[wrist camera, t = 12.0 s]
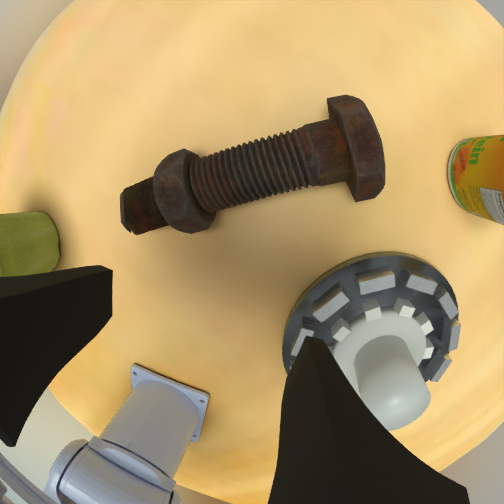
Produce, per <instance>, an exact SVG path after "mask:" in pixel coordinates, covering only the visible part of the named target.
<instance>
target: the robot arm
mask: <svg viewBox="0 0 504 504" xmlns="http://www.w3.org/2000/svg"><path fill="white" fill-rule="evenodd" d="M112 277H113V270H111V269H108V268H106V267H104V266H101V265H95V266H85V267H78V268H72V269H65V270H59V271H53V272H47V273H39V274H32V275H23V276H8V277H0V439H1V440H2V441H3V442H4V443H5V445H6V446H9V447H14V446H16V443H17V440H18V438H19V435H20V433H21V431H22V428H23V426H24V424H25V422H26V420H27V418H28V416H29V415H30V413H31V411H32V409H33V408H34V406H35V404H36V402H37V401H38V400H39V398H40V397H41V395H42V394H43V392H44V390H45V389H46V388H47V386H48V385H49V384H50V382H51V381H52V380H53V379H54V377H55V376H56V375H57V373H58V372H59V371H60V370H61V369H62V368H63V367H64V366H65V365H66V364H67V363H68V362H69V361H70V360H71V359H72V358H73V357H74V356H75V355H76V354H77V353H79V352H80V351H81V350H82V349H83V348H84V347H85V346H86V345H87V344H88V343H89V342H90V341H91V340H92V339H93V338H94V337H95V336H96V335H97V334H98V333H99V332H100V331H101V330H102V328H103V327H104V326H105V325H106V323H107V322H108V321H109V319H110V318H111V317H112ZM131 381H132V392H131V394H130V395H129V396H128V398H127V399H126V400H125V402H124V403H123V405H122V406H121V407H120V409H119V410H118V411H117V413H116V414H115V416H114V417H113V418H112V420H111V421H110V422H109V424H108V425H107V427H106V428H105V429H104V431H103V432H102V434H101V435H100V436H99V438H98V437H96V436H94V437H93V438H92V439H91V441H90V442H88V441H87V440H85V439H80V440H74V441H72V442H70V443H69V444H68V445H67V446H66V447H65V448H64V449H63V450H62V451H61V453H60V454H59V455H58V457H57V458H56V460H55V462H54V463H53V465H52V467H51V470H50V473H49V479H48V482H47V484H46V486H45V488H44V490H43V492H42V491H41V490H40V489H38V488H37V487H36V486H35V485H34V484H32V483H31V482H30V481H29V480H28V479H27V478H25V477H24V476H23V475H22V474H21V473H20V472H19V471H18V470H17V469H16V468H15V467H14V466H13V465H12V464H10V462H9V461H8V460H7V459H6V458H5V457H4V456H3V455H2V454H1V453H0V477H1V478H2V479H3V480H4V481H5V482H6V483H7V484H8V485H9V486H10V487H11V488H12V489H13V490H14V491H15V492H16V493H17V494H18V495H19V496H20V497H21V498H22V499H24V500H25V501H26V502H27V503H28V504H183V500H182V498H181V496H180V493H179V492H177V491H175V490H173V488H174V486H175V484H176V481H175V480H173V478H174V476H175V474H176V471H177V469H178V467H179V465H180V462H181V460H182V458H183V455H184V453H185V451H186V448H187V446H188V444H189V442H190V441H193V442H198V440H199V436H200V432H201V428H202V424H203V420H204V416H205V412H206V408H207V404H208V400H209V395H208V394H207V393H205V392H202V391H199V390H196V389H193V388H191V387H188V386H185V385H183V384H180V383H178V382H175V381H173V380H170V379H168V378H165V377H163V376H161V375H158V374H156V373H154V372H151V371H149V370H147V369H145V368H142V367H140V366H138V365H136V364H133V365H132V366H131ZM6 492H7V488H6V486H5V485H4V484H3V483H2V482H1V480H0V504H14V503H13V502H12V501H11V500H10V499H9V498H7V497H6V496H5V495H4V494H5V493H6ZM268 504H470V502H469V497H468V493H467V489H466V487H464V486H462V485H460V484H458V483H456V482H455V481H453V480H451V479H449V478H447V477H445V476H443V475H442V474H440V473H438V472H437V471H435V470H434V469H432V468H431V467H430V466H428V465H427V464H425V463H424V462H423V461H421V460H420V459H419V458H417V457H416V456H415V455H414V454H412V453H411V452H410V451H409V450H408V449H406V448H405V447H404V446H403V445H402V444H401V443H400V442H399V441H398V440H397V439H396V438H394V437H393V436H392V435H391V434H390V433H389V431H388V430H387V429H386V428H385V427H384V426H383V425H382V424H381V423H380V422H379V420H378V419H377V418H376V417H375V416H374V415H373V414H372V412H371V411H370V410H369V409H368V407H367V406H366V405H365V403H364V402H363V401H362V399H361V398H360V397H359V395H358V394H357V393H356V391H355V390H354V388H353V387H352V385H351V384H350V382H349V381H348V379H347V378H346V376H345V374H344V373H343V371H342V370H341V368H340V366H339V365H338V363H337V361H336V360H335V358H334V356H333V355H332V353H331V351H330V350H329V348H328V346H327V345H326V343H325V342H324V340H323V339H319V338H315V337H311V336H307V335H306V336H305V339H304V341H303V343H302V346H301V348H300V350H299V352H298V354H297V357H296V359H295V361H294V363H293V365H292V367H291V370H290V372H289V374H288V376H287V378H286V383H285V388H284V393H283V399H282V406H281V421H280V436H279V449H278V459H277V466H276V471H275V476H274V480H273V485H272V489H271V493H270V497H269V501H268Z"/></svg>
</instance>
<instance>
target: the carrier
mask: <svg viewBox="0 0 504 504" xmlns="http://www.w3.org/2000/svg"><path fill="white" fill-rule="evenodd" d="M398 297H399V298H402V299H406V300H409V301H410V302H411V303H412V305H413V306H414V307H415V311H414V313H413V316H414V317H417V316H418V315H419V314H421V313H422V312H424V314H425V315H426V316H427V318H428V319H429V320H430V322H431V325H432V327H433V329H434V330H432V331H431V332H430V333H428V334H427V335H425V336H426V338H429V340H430V341H431V343H432V344H433V346H434V349H433V352H432V355H431V358H427V359H422V361H421V363H420V364H419V366H418V369H419V371H420V373H421V375H422V377H423V379H424V381H425V382H427V381H428V380H429V379H430V381H434V382H438V380H439V379H440V378H441V376H442V375H443V373H444V372H445V371H446V369H447V368H448V366H449V365H450V363H451V362H452V359H451V358H450V356H449V355H448V354H449V352H450V351H452V350H454V349H457V347H458V340H459V334H460V326H461V324H460V323H459V322H458V313H459V312H458V305H457V301H456V297H455V294H454V292H453V290H452V287H451V286H450V284H449V283H448V281H447V280H446V278H445V277H444V276H443V275H442V274H441V273H440V272H439V271H438V270H436V269H435V268H434V267H433V266H431V265H430V264H428V263H427V262H425V261H424V260H422V259H420V258H417V257H415V256H412V255H409V254H405V253H399V252H377V253H371V254H365V255H362V256H359V257H355V258H352V259H350V260H348V261H345V262H343V263H341V264H339V265H337V266H335V267H334V268H332V269H330V270H329V271H327V272H326V273H325V274H323V275H322V276H321V277H319V278H318V279H317V280H316V281H315V282H314V283H312V284H311V285H310V286H309V287H308V288H307V289H306V291H305V292H304V293H303V294H302V295H301V297H300V298H299V299H298V301H297V303H296V304H295V306H294V307H293V309H292V311H291V313H290V315H289V318H288V320H287V324H286V327H285V331H284V338H283V346H282V355H283V362H284V367H285V370H286V373H287V375H288V374H289V372H290V370H291V367H292V365H293V363H294V361H295V359H296V357H297V354H298V352H299V350H300V348H301V346H302V343H303V341H304V339H305V336H306V335H307V336H311V337H315V338H319V339H323V340H324V342H325V343H326V345H327V346H333V343H334V341H335V338H333V337H332V330H331V327H332V326H333V325H334V324H335V322H336V321H337V320H338V319H339V318H340V317H342V318H343V319H345V320H346V321H348V322H349V321H351V320H352V319H353V318H355V317H356V316H358V315H360V314H361V313H363V309H362V304H361V303H363V302H366V301H369V300H372V299H376V301H377V302H378V304H379V306H380V307H393V306H394V304H395V302H396V300H397V298H398Z"/></svg>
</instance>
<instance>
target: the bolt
mask: <svg viewBox="0 0 504 504" xmlns="http://www.w3.org/2000/svg"><path fill="white" fill-rule="evenodd" d="M327 104H328V111H329V119H328V120H324V121H319V122H315V123H310V124H306V125H304V126H303V127H301V128H298V129H297V130H295V129H293V130H292V132H291V133H290V132H289V131H286V134H285V135H284V134H283V133H282V132H281V133H280V135H279V137H278V136H277V135H276V134H274V136H273V139H272V138H271V137H270V136H268V137H267V140H265V139H264V138H263V137H262V138H261V140H260V142H259V141H258V140H257V139H255V141H254V143H253V142H251V141H249V142H248V145H247V144H246V143H243V145H242V146H241V145H238V146H237V147H236V148H235V147H234V146H233V147H231V150H230V149H226V150H225V151H223V150H221V151H220V152H219V153H217V152H216V153H214V155H212V154H210V155H208V157H207V156H204V157H203V158H200V157H199V156H198V155H196V154H195V153H193V152H191V151H189V150H186V149H182V150H179V151H177V152H174V153H172V154H169V155H168V156H167V157H166V158H164V159H163V160H162V161H161V163H160V164H159V165H158V166H157V168H156V170H155V172H154V176H153V177H150V178H149V179H145V180H144V181H141V182H139V183H137V184H134V185H133V186H130V187H127V188H125V189H124V190H123V192H122V193H121V195H120V212H121V223H122V224H123V226H124V227H125V228H126V229H127V230H128V231H129V232H130V233H131V231H132V232H133V233H134V234H136V235H139V234H143V233H145V232H148V231H151V230H155V229H157V228H161V227H164V226H166V225H167V226H168V225H171V226H172V227H173V228H174V229H176V230H179V231H181V232H185V233H190V234H193V233H196V232H200V231H204V230H208V228H209V227H210V225H211V224H212V222H213V220H214V218H215V216H216V211H219V210H220V209H225V208H230V207H231V206H236V205H237V204H239V205H241V204H242V203H247V202H248V201H251V202H252V201H253V200H254V199H256V200H259V199H260V197H261V198H265V197H266V195H267V196H269V197H270V196H271V195H272V193H273V194H274V195H277V193H278V192H279V193H281V194H282V193H283V192H284V190H285V191H286V192H289V190H290V189H291V190H292V191H295V189H296V187H297V188H298V189H299V190H300V189H301V187H302V185H303V186H304V187H305V188H307V187H308V184H309V185H310V186H312V187H313V186H317V185H319V186H325V185H329V184H334V183H338V182H343V181H346V182H347V184H348V186H349V189H350V191H351V193H352V196H353V198H354V200H355V202H359V201H363V200H368V199H373V198H375V197H376V196H377V195H378V194H379V193H380V192H381V191H382V189H383V188H384V185H385V160H384V152H383V146H382V141H381V138H380V135H379V132H378V130H377V127H376V125H375V123H374V120H373V118H372V116H371V114H370V112H369V110H368V109H367V107H366V105H365V103H364V102H363V101H362V100H360V99H359V98H356V97H354V96H349V95H342V96H336V97H331V98H327Z"/></svg>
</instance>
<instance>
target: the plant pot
mask: <svg viewBox="0 0 504 504" xmlns="http://www.w3.org/2000/svg"><path fill="white" fill-rule="evenodd" d="M58 241H59V236H58V233H57V230H56V227H55V225H54V223H53V221H52V220H51V218H50V217H49V216H48V215H47V214H45V213H43V212H39V211H34V212H22V213H10V214H0V277H8V276H23V275H32V274H39V273H47V272H50V271H52V270H53V269H54V268H55V267H56V266H57V264H58V262H59V258H60V253H59V249H58Z"/></svg>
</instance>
